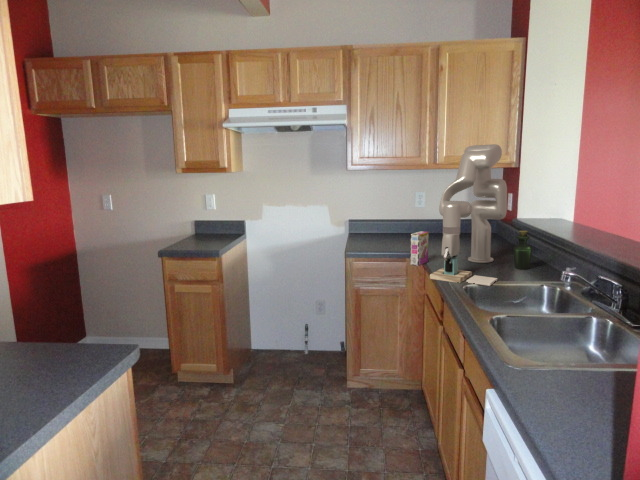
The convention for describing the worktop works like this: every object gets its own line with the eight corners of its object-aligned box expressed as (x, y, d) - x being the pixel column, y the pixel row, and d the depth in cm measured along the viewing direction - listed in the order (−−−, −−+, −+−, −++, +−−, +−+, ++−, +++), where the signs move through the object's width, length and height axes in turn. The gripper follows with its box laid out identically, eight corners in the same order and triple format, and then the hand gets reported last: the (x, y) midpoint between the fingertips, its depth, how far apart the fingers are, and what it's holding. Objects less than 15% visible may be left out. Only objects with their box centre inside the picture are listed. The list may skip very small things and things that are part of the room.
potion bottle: (533, 270, 207) (535, 232, 204) (514, 270, 208) (516, 232, 205) (528, 266, 215) (529, 229, 212) (510, 266, 216) (512, 230, 213)
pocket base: (442, 272, 209) (442, 268, 209) (471, 275, 201) (471, 271, 200) (429, 278, 198) (429, 274, 198) (460, 282, 190) (460, 278, 189)
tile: (474, 277, 198) (474, 275, 198) (497, 280, 192) (497, 278, 191) (466, 282, 190) (466, 280, 190) (490, 285, 184) (490, 283, 184)
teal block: (447, 275, 203) (448, 256, 201) (457, 276, 200) (457, 257, 198) (444, 277, 199) (444, 258, 198) (453, 279, 196) (454, 259, 195)
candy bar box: (419, 266, 222) (419, 234, 219) (410, 265, 225) (410, 233, 223) (428, 262, 231) (429, 231, 228) (420, 261, 234) (420, 230, 231)
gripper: (450, 227, 205) (450, 265, 208) (435, 232, 192) (435, 273, 195) (466, 228, 200) (465, 267, 203) (452, 233, 187) (451, 275, 190)
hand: (450, 270), depth 199 cm, fingers closed on teal block, 4 cm apart
